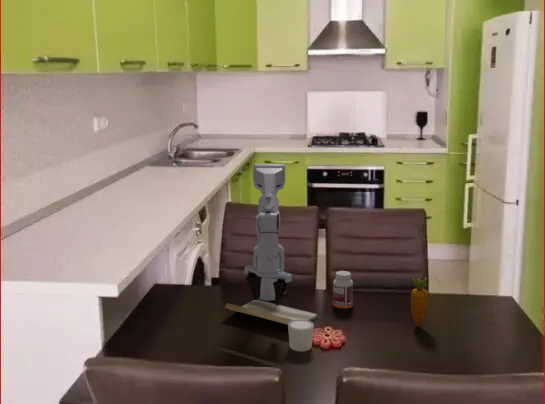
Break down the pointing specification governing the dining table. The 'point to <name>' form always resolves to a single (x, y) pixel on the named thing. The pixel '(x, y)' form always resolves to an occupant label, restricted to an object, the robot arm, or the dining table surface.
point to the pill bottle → (343, 290)
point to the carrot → (419, 301)
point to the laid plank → (280, 310)
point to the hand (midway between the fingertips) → (267, 301)
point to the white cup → (300, 335)
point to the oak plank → (258, 314)
